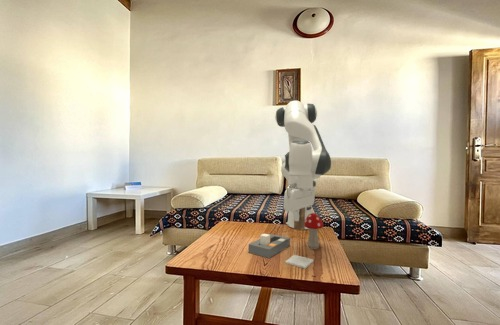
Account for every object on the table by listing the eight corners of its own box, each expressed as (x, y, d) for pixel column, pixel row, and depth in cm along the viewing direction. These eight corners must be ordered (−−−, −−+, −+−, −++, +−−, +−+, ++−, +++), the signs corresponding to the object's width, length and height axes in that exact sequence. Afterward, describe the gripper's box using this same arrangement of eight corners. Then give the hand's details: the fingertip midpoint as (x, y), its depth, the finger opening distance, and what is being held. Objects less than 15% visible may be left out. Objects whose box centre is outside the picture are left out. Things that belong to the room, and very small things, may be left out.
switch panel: (270, 241, 114) (270, 233, 114) (289, 245, 108) (289, 237, 108) (248, 252, 99) (248, 243, 99) (269, 258, 93) (269, 249, 93)
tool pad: (294, 256, 96) (294, 254, 96) (313, 261, 91) (313, 259, 91) (285, 262, 89) (285, 261, 89) (305, 268, 84) (305, 266, 84)
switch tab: (264, 246, 102) (264, 233, 102) (270, 247, 101) (270, 234, 101) (260, 248, 100) (260, 235, 100) (266, 249, 98) (266, 236, 98)
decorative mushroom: (323, 251, 101) (324, 216, 101) (303, 249, 103) (303, 215, 103) (322, 244, 110) (323, 211, 110) (303, 242, 112) (303, 210, 112)
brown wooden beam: (304, 229, 90) (304, 202, 90) (301, 230, 88) (301, 203, 88) (297, 227, 92) (297, 201, 92) (293, 229, 90) (294, 202, 90)
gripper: (295, 185, 80) (295, 226, 80) (317, 182, 96) (317, 216, 96) (279, 184, 83) (278, 223, 83) (303, 181, 100) (302, 214, 100)
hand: (299, 219), depth 90 cm, fingers closed on brown wooden beam, 3 cm apart
